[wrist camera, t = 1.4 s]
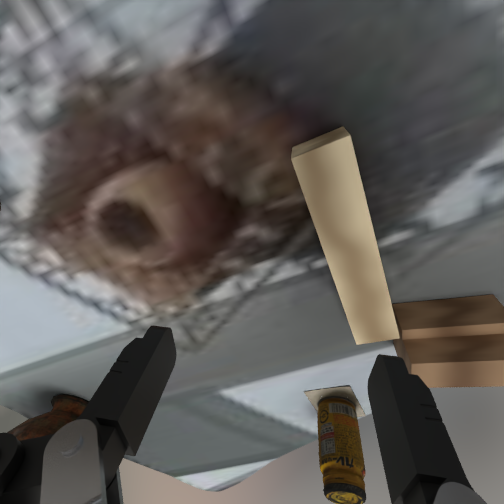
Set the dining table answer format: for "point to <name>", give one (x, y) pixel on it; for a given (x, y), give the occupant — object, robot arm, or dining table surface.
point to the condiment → (340, 444)
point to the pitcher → (51, 418)
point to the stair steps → (452, 341)
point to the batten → (346, 232)
